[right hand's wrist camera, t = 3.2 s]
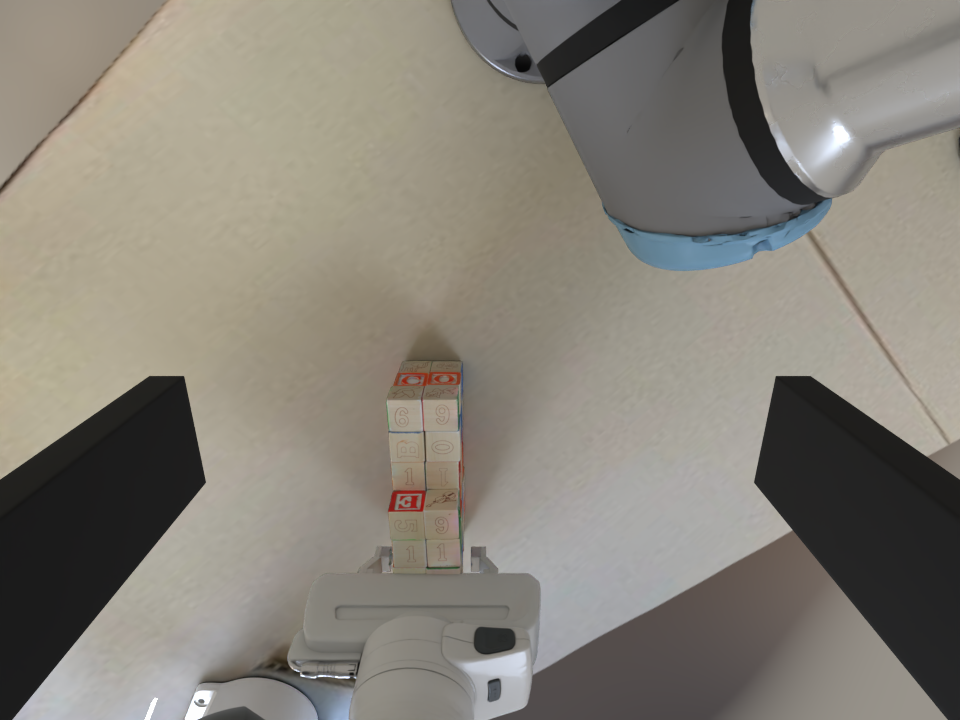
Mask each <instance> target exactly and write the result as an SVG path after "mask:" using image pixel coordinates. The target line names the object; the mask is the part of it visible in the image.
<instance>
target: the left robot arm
mask: <svg viewBox="0 0 960 720" xmlns="http://www.w3.org/2000/svg"><path fill="white" fill-rule="evenodd" d="M392 562H393V553H392V547H387V546H377V548H376V552H375V556H374V557H372V558H371V559H370V560H369V561H367V562H366V563H365V564H364V565H362V566H361V567H360V568H359V570H358V573H326V574H323V575H322V576H320V577H319V578H317V579H316V580H315V581H314V582H313V583H312V586H311V589H310V592H309V596H308V600H307V604H306V609H305V615H304V625H303V628H302V629H301V630H300V631H299V632H298V633H297V634H296V635H295V637H294V639H293V641H292V644H291V647H290V649H289V652H288V656H287V660H288V664H289V666H290V667H291V668H292V669H293V670H295V671H298V672H300V675H301V676H302V677H306V678H318V677H324V676H325V677H327V676H328V677H333V678H334V677H335V678H357V679H356V683H355V687H354V691H353V695H352V700H351V704H350V710H349V720H489V719H492V718H495V717H498V716H501V715H504V714H507V713H511V712H514V711H517V710H520V709H522V708H523V707H525V706H526V705H527V703H528V699H529V695H530V690H531V684H532V673H533V665H534V663H535V660H536V657H537V651H538V641H539V628H540V606H541V591H540V583H539V581H538V580H537V579H536V578H534V577H533V576H532V575H530V574H528V573H498V568H497V567H496V566H495V565H494V564H493V563H492V562H491V560H490V559H489V558H488V557H486V546H483V547H471V572H480V573H461V574H426V573H425V574H394V573H382V572H390V571H391V564H392ZM156 701H157V698H155V699H154V700H153V702H152V704H151V706H150V709H149V711H148V714H147V716H146V719H145V720H149V719H150V716H151V713H152V711H153V708H154V706H155V703H156ZM184 720H318V716H317V712H316V710H315V708H314V706H313V704H312V703H311V702H310V700H309V699H308V698H307V697H306V696H305V695H304V694H302V693H301V692H300V691H298V690H297V689H295V688H293V687H292V686H290V685H287V684H285V683H282V682H279V681H276V680H272V679H267V678H242V679H237V680H234V681H230V682H226V683H202V684H199V685H198V686H197V688H196V691H195V693H194V696H193V698H192V701H191V703H190V706H189V709H188V711H187V714H186V716H185V719H184Z"/></svg>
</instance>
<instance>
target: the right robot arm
mask: <svg viewBox="0 0 960 720" xmlns="http://www.w3.org/2000/svg"><path fill="white" fill-rule="evenodd" d="M451 3H452V7H453V11H454V14H455V17H456V20H457V23H458V25H459V27H460V29H461V31H462V33H463V35H464V37H465V38H466V40H467V42H468V43H469V44H470V46H471V47H472V49H473V50H474V51H475V52H476V53H477V54H478V56H479V57H480V58H481V59H482V60H484V61H485V62H486V63H487V64H488V65H489V66H491V67H492V68H493V69H495V70H497V71H498V72H500V73H501V74H503V75H506V76H508V77H510V78H513V79H515V80H518V81H522V82H527V83H534V84H546V86H547V90H548V92H549V94H550V96H551V98H552V100H553V102H554V104H555V106H556V108H557V110H558V112H559V114H560V116H561V118H562V120H563V122H564V124H565V127H566V129H567V131H568V133H569V135H570V137H571V139H572V141H573V143H574V145H575V147H576V149H577V151H578V153H579V155H580V157H581V159H582V161H583V163H584V165H585V168H586V170H587V172H588V174H589V176H590V178H591V180H592V182H593V184H594V186H595V188H596V190H597V192H598V194H599V196H600V198H601V200H602V206H603V209H604V212H605V214H606V215H608V218H609V220H610V221H611V222H612V223H613V224H614V225H616V227H617V228H618V230H619V232H620V234H621V236H622V237H623V239H624V241H625V243H626V245H627V246H628V248H629V249H630V251H631V252H632V253H633V254H634V255H635V256H636V257H637V258H638V259H639V260H641V261H642V262H644V263H646V264H649V265H651V266H653V267H657V268H661V269H666V270H674V271H693V270H704V269H711V268H718V267H723V266H728V265H732V264H736V263H739V262H743V261H746V260H749V259H752V258H753V255H754V254H755V253H757V252H758V251H765V250H768V251H774V250H776V249H778V248H780V247H783V246H785V245H787V244H789V243H791V242H793V241H795V240H796V239H798V238H800V237H801V236H803V235H804V234H806V233H807V232H809V231H810V230H811V229H813V228H814V227H815V226H816V225H817V224H818V223H819V222H820V221H821V220H822V219H823V218H824V216H825V215H826V214H827V212H828V211H829V209H830V207H831V204H832V198H835V197H839V196H842V195H844V194H847V193H849V192H851V191H853V190H854V189H855V188H856V187H857V186H858V185H859V184H860V183H861V182H862V180H863V179H864V177H865V176H866V175H867V173H868V172H869V170H870V169H871V168H872V166H873V165H874V163H875V162H876V161H877V159H878V158H879V156H880V155H881V154H882V153H883V152H884V151H885V150H887V149H891V148H894V147H897V146H900V145H904V144H907V143H910V142H914V141H917V140H920V139H923V138H927V137H930V136H933V135H937V134H940V133H943V132H946V131H950V130H953V129H956V128H960V0H451ZM205 483H206V481H205V476H204V471H203V466H202V461H201V456H200V451H199V446H198V442H197V437H196V432H195V427H194V422H193V417H192V412H191V407H190V403H189V398H188V393H187V388H186V383H185V378H184V376H149V377H148V378H146V379H145V380H143V381H142V382H140V383H139V384H138V385H136V386H135V387H133V388H132V389H130V390H129V391H127V392H126V393H125V394H123V395H122V396H120V397H119V398H117V399H116V400H114V401H113V402H112V403H110V404H109V405H107V406H106V407H104V408H103V409H101V410H100V411H99V412H97V413H96V414H94V415H93V416H91V417H90V418H89V419H87V420H86V421H84V422H83V423H81V424H80V425H78V426H77V427H76V428H74V429H73V430H71V431H70V432H68V433H67V434H65V435H64V436H63V437H61V438H60V439H58V440H57V441H55V442H54V443H52V444H51V445H50V446H48V447H47V448H45V449H44V450H42V451H41V452H40V453H38V454H37V455H35V456H34V457H32V458H31V459H29V460H28V461H27V462H25V463H24V464H22V465H21V466H19V467H18V468H16V469H15V470H14V471H12V472H11V473H9V474H8V475H6V476H5V477H3V478H2V479H1V480H0V720H12V719H13V718H14V717H15V716H16V714H17V713H18V712H19V711H20V710H21V708H22V707H23V706H24V705H25V703H26V702H27V701H28V700H29V699H30V697H31V696H32V695H33V694H34V692H35V691H36V690H37V689H38V688H39V686H40V685H41V684H42V683H43V681H44V680H45V679H46V678H47V677H48V675H49V674H50V673H51V672H52V670H53V669H54V668H55V667H56V665H57V664H58V663H59V662H60V661H61V659H62V658H63V657H64V656H65V654H66V653H67V652H68V651H69V650H70V648H71V647H72V646H73V645H74V643H75V642H76V641H77V640H78V639H79V637H80V636H81V635H82V634H83V632H84V631H85V630H86V629H87V628H88V626H89V625H90V624H91V623H92V621H93V620H94V619H95V618H96V617H97V615H98V614H99V613H100V612H101V610H102V609H103V608H104V607H105V605H106V604H107V603H108V602H109V601H110V599H111V598H112V597H113V596H114V594H115V593H116V592H117V591H118V590H119V588H120V587H121V586H122V585H123V583H124V582H125V581H126V580H127V579H128V577H129V576H130V575H131V574H132V572H133V571H134V570H135V569H136V568H137V566H138V565H139V564H140V563H141V561H142V560H143V559H144V558H145V557H146V555H147V554H148V553H149V552H150V550H151V549H152V548H153V547H154V545H155V544H156V543H157V542H158V541H159V539H160V538H161V537H162V536H163V534H164V533H165V532H166V531H167V530H168V528H169V527H170V526H171V525H172V523H173V522H174V521H175V520H176V519H177V517H178V516H179V515H180V514H181V512H182V511H183V510H184V509H185V508H186V506H187V505H188V504H189V503H190V501H191V500H192V499H193V498H194V497H195V495H196V494H197V493H198V492H199V490H200V489H201V488H202V487H203V485H204V484H205ZM754 483H755V484H756V485H757V487H758V488H759V489H760V490H761V492H762V493H763V494H764V495H765V497H766V498H767V499H768V500H769V501H770V503H771V504H772V505H773V506H774V508H775V509H776V510H777V511H778V512H779V514H780V515H781V516H782V517H783V519H784V520H785V521H786V522H787V523H788V525H789V526H790V527H791V528H792V530H793V531H794V532H795V533H796V534H797V536H798V537H799V538H800V539H801V541H802V542H803V543H804V544H805V545H806V547H807V548H808V549H809V550H810V552H811V553H812V554H813V555H814V556H815V558H816V559H817V560H818V561H819V563H820V564H821V565H822V566H823V568H824V569H825V570H826V571H827V572H828V574H829V575H830V576H831V577H832V579H833V580H834V581H835V582H836V583H837V585H838V586H839V587H840V588H841V590H842V591H843V592H844V593H845V594H846V596H847V597H848V598H849V599H850V601H851V602H852V603H853V604H854V605H855V607H856V608H857V609H858V610H859V612H860V613H861V614H862V615H863V617H864V618H865V619H866V620H867V621H868V623H869V624H870V625H871V626H872V627H873V629H874V630H875V631H876V632H877V634H878V635H879V636H880V637H881V639H882V640H883V641H884V642H885V643H886V645H887V646H888V647H889V648H890V649H891V651H892V652H893V653H894V654H895V656H896V657H897V658H898V659H899V661H900V662H901V663H902V664H903V665H904V667H905V668H906V669H907V670H908V672H909V673H910V674H911V675H912V676H913V678H914V679H915V680H916V681H917V683H918V684H919V685H920V686H921V688H922V689H923V690H924V691H925V692H926V694H927V695H928V696H929V697H930V698H931V700H932V701H933V702H934V703H935V705H936V706H937V707H938V708H939V709H940V711H941V712H942V713H943V714H944V716H945V717H946V718H947V719H948V720H960V480H959V479H958V478H956V477H955V476H954V475H952V474H951V473H949V472H948V471H946V470H945V469H944V468H942V467H941V466H939V465H938V464H936V463H935V462H933V461H932V460H931V459H929V458H928V457H926V456H925V455H923V454H922V453H920V452H919V451H918V450H916V449H915V448H913V447H912V446H910V445H909V444H908V443H906V442H905V441H903V440H902V439H900V438H899V437H897V436H896V435H895V434H893V433H892V432H890V431H889V430H887V429H886V428H884V427H883V426H882V425H880V424H879V423H877V422H876V421H874V420H873V419H871V418H870V417H869V416H867V415H866V414H864V413H863V412H861V411H860V410H859V409H857V408H856V407H854V406H853V405H851V404H850V403H848V402H847V401H846V400H844V399H843V398H841V397H840V396H838V395H837V394H835V393H834V392H833V391H831V390H830V389H828V388H827V387H825V386H824V385H822V384H821V383H820V382H818V381H817V380H815V379H814V378H812V377H811V376H776V378H775V383H774V388H773V393H772V398H771V403H770V407H769V412H768V417H767V422H766V427H765V432H764V437H763V442H762V446H761V451H760V456H759V461H758V466H757V471H756V476H755V481H754Z"/></svg>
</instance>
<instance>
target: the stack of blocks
mask: <svg viewBox="0 0 960 720" xmlns="http://www.w3.org/2000/svg"><path fill="white" fill-rule="evenodd" d="M386 405H387V416H388V427H389V433H388V434H389V448H390V460H391V475H392V485H393V489H394V491H393V493H392V497H391V501H390V505H389V510H388V516H389V527H390V538H391V540H392V552H393V573H394V574H425V573H426V574H461V573H463V551H464V513H465V503H464V466H463V441H462V427H463V370H462V361H433V362H432V361H404V362H402V364H401V366H400V369H399V372H398V373H397V376H396V379H395V381H394V385H393V386H392V387H391V389H390V391H389V394H388V397H387V400H386Z"/></svg>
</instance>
